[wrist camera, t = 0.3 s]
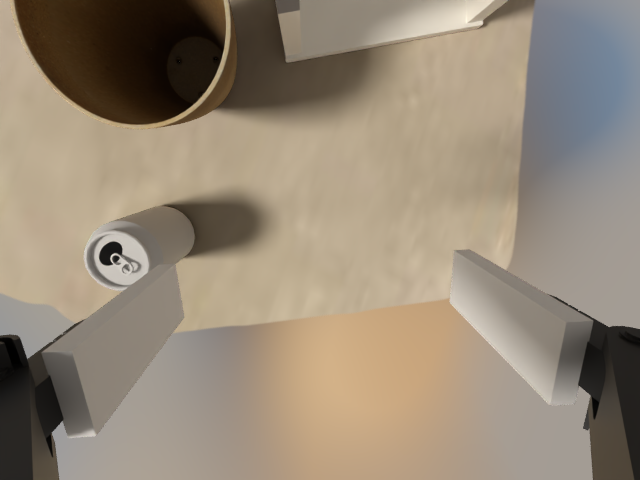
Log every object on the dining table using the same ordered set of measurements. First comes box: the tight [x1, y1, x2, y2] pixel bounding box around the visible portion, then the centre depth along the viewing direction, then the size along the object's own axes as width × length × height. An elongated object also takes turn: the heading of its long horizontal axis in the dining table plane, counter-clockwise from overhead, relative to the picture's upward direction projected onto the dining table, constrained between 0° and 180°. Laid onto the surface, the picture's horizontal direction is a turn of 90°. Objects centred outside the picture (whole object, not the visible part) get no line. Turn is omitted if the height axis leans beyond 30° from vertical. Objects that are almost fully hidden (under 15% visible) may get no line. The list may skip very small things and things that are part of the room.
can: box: [84, 206, 195, 291], centre depth 36 cm, size 8×8×12 cm
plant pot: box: [10, 0, 237, 129], centre depth 29 cm, size 15×15×16 cm
